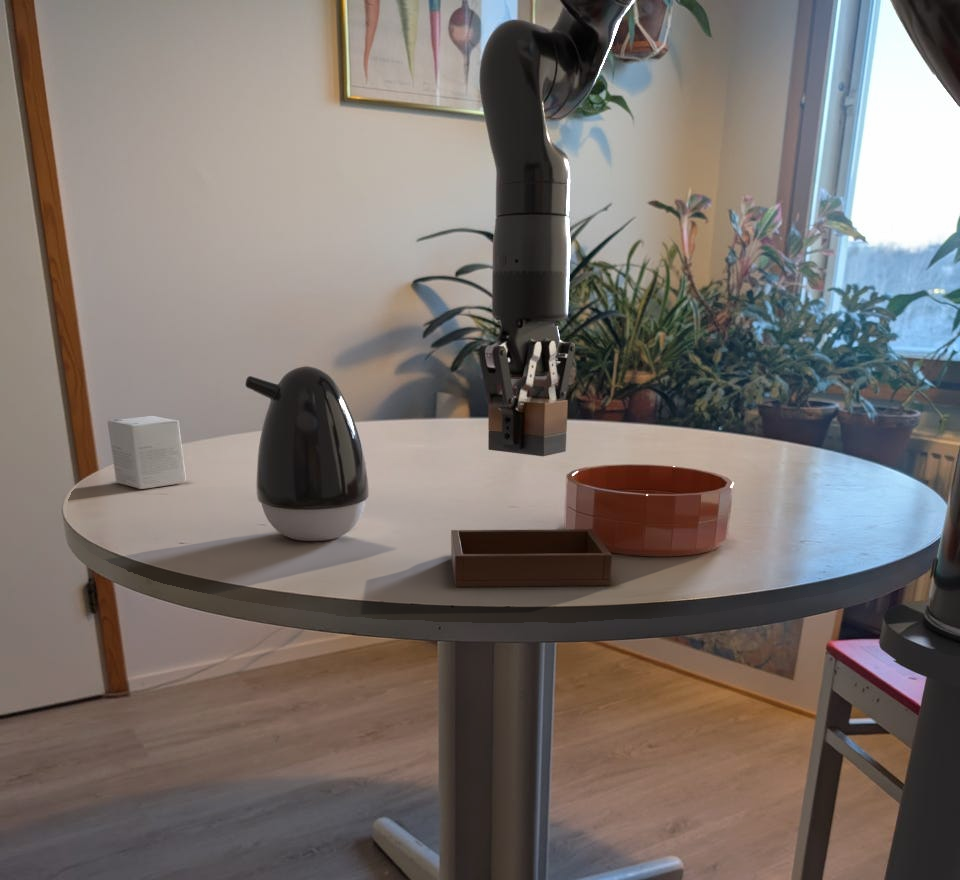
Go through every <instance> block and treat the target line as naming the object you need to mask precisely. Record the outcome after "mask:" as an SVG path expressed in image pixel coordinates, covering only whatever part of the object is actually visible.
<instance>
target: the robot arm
mask: <svg viewBox="0 0 960 880" xmlns="http://www.w3.org/2000/svg"><path fill="white" fill-rule="evenodd" d="M558 1H559V3H560V5H562V8H561V10H560V13H559V16H558V18H557V20H556V22H555V24H554V25H553V27H552V28H548V27H545V26H542V25H540V24H537V23H533V22H531V21H527V20H524V19H508V20H506V21H504V22H502V23H500V24H499V25H498V26H497V27H496V28H495V29H494V30H492V33H491V34H490V36H489V37H488V38H487V41H486V43H485V45H484V48H483V51H482V55H481V60H480V64H479V76H478V79H479V80H478V84H479V95H480V101H481V106H482V112H483V116H484V117H483V118H484V121H485V126H486V131H487V135H488V136H487V137H488V141H489V146H490V150H491V154H492V158H493V162H494V167H495V218H494V219H495V222H494V231H493V237H492V276H491V277H492V281H491V282H492V283H491V284H492V286H491V287H492V289H491V290H492V291H491V293H492V295H491V298H492V299H491V300H492V301H491V315H492V318H493V319H494V320H496V321H499V322H500V330H499V334H498V336H497V341H496V342H494V343H493V344H491V345H489V344H488V345H480V346H479V349H478V357H479V362H480V369H481V375H482V379H483V384H484V389H485V390H484V391H485V395H486V400H487V404H488V406H489V405H490V406H496V407H498V408H499V410H501V411H502V442H503V447H504V448H505V449H509V450H521V449H523V447H524V421H525V413H522V412H523V411H524V408H525V402H526V397H528V392H529V394H530V396H529V397H533V398H546V399H559V400H566V397H567V394H568V393H567V392H568V388H569V382H570V377H571V373H572V367H573V361H574V356H575V352H576V345H575V343H574V342H572V341H571V342H567V341H563V340H561V338H560V333H559V329H558V327H559V326H558V322H559V321H564V320H567V318H568V315H569V296H570V295H569V294H570V273H571V271H570V268H571V266H570V265H571V233H570V218H569V216H570V197H571V195H570V194H571V165H570V159H569V157H568V155H567V153H566V152H564V150H562V149H561V148H559V146H557V145H556V144H554V142H553V141H552V140H551V138H550V136H549V132H548V127H547V122H548V123H550V122H551V123H552V122H558V121H561V120H564V119H565V118H567V117H569V116H570V115H571V114H572V113H574V112H575V111H576V110H577V109H578V108H579V107H580V106H581V105H582V104H583V103H584V102H585V100H586V98H588V97H589V94H590V93H591V91H592V90H593V87H594V85H595V83H596V81H597V78H598V77H599V74H600V72H601V69H602V68H603V65H604V63H605V60H606V58H607V56H608V54H609V52H610V49H611V47H612V45H613V42H614V39H615V36H616V34H617V31H618V29H619V26H620V24H621V21H622V19H623V17H624V16H625V15H626V14H627V12H628V11H629V10H630V8H631V7H632V5H633V4H634V3H635V1H636V0H558ZM889 1H890V3H891V5H892V7H893V9H894V11H895V14H896V15H897V17H898V19H899V21H900V23H901V24H902V26H903V28H904V30H905V32H906V34H907V35H908V37H909V39H910V41H911V42H912V44H913V46H914V47H915V49H916V51H917V52H918V53H919V55H920V57H921V58H922V60H923V61H924V63H925V65H926V66H927V68H928V69H929V70H930V72H931V73H932V75H933V76H934V77H935V79H936V81H937V82H938V83H939V85H940V86H941V88H943V90H944V92H945V93H946V94H947V95H948V97H949V98H950V99H951V100H952V102H953V103H954V104H955V106H956V107H957V109H958V110H959V111H960V0H889ZM556 384H557V387H556ZM497 385H499V386H500V392H498V389H497ZM514 389H516V393H515V395H514ZM514 396H516V397H515V398H514ZM958 446H959V447H958V451H957V457H956V461H955V467H954V471H953V476H952V480H951V485H950V492H949V496H948V500H947V507H946V511H945V515H944V521H943V525H942V531H941V536H940V541H939V545H938V549H937V550H938V551H937V554H936V556H935V557H934V558H933V561H932V567H931V571H930V576H929V579H932V580H931V585H930V589H929V592H928V597H927V600H928V601H927V602H928V604H927V606H926V607H925V612H924V617H923V623H924V625H925V626H926V627H927V628H928V629H929V630H931V631H932V632H934V633H936V634H938V635H940V636H942V637H944V638H946V639H949V640H952V641H955V642H958V643H960V445H958Z"/></svg>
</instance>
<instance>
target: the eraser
mask: <svg viewBox="0 0 960 880" xmlns="http://www.w3.org/2000/svg"><path fill="white" fill-rule="evenodd" d="M515 397H516V395H514V398H515ZM568 402H569V400H568V399H564V400H559V399H546V398H533V397H531V396H527V397H526V402H525V408H524V411H523V412H522V413H525V421H524V447H523V449H521V450H509V449H505V448H504V447H503V442H502V411H501V410H499V408H498V407H496V406H490V405H489V404H488V419H487V420H488V422H487V423H488V433H487V434H488V439H487V440H488V442H487V444H488V447H487V448H488V449H487V450H488V451H495V452H502V453H510V454H517V455H518V454H519V455H527V456H535V457H548V456H551V455H556V454H561V453H565V452H567V431H568V409H569V408H568Z"/></svg>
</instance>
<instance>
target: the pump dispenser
mask: <svg viewBox="0 0 960 880" xmlns="http://www.w3.org/2000/svg"><path fill="white" fill-rule="evenodd" d="M244 383H245V385H244V386H245V387H246V388H247V389H248V390H252V391H253V392H255V393H257V394H259V395H261V396H263V397H265V398H268V399H269V400H270V402H269V404H268V408H267V410H266V413H265V416H264V421H263V424H262V429H261V433H260V439H259V444H258V452H257V463H256V482H255V483H256V485H255V486H256V499H257V501H258V502H259V503H260V504H261V507H262V511H263V513H264V515H265V517H266V519H267V521H268V523H269V524H270V525H271V526H272V527H273V528H274V529H275V530H276V531H277V532H278V533H280V534H281V535H283V536H285V537H286V538H290V539H292V540H295V541H300V542H323V541H331V540H335V539H338V538H341V537H343V536H345V535H346V534H348V533H349V532H351V531H352V530H353V529H354V528H355V527H356V526H357V525H358V523H359V521H360V520H361V517H362V516H363V512H364V510H365V505H366V501H367V499H368V498H369V497H370V496H369V495H370V488H369V487H370V486H369V478H368V471H367V464H366V459H365V454H364V449H363V447H362V446H363V445H362V441H361V437H360V435H359V431H358V427H357V426H356V423H355V421H354V418H353V415H352V413H351V411H350V408H349V405H348V403H347V401H346V399H345V396H344V395H343V392H342V391H341V388H339V386H338V385H337V383H336V382H335V380H334V379H333V378H332V377H331V376H330V375H329V374H328V373H327V372H325V371H324V370H322V369H320V368H317V367H314V366H307V365H303V366H299V367H296V368H293V369H291V370H289V371H288V372H286V373H285V374H284V375H283V376H282V377H281V379H280V381H279V382H278V383H274V382H271V381H267V380H264V379H261V378H258V377H255V376H253V375H249V376H247V377H246V380H245V382H244Z"/></svg>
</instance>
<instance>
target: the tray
mask: <svg viewBox="0 0 960 880" xmlns="http://www.w3.org/2000/svg"><path fill="white" fill-rule="evenodd" d="M450 531H451V532H450V560H451V567H452V573H453V582H454V587H455V588H480V587H481V588H482V587H483V588H485V587H486V588H487V587H497V588H498V587H574V586H575V587H577V586H578V587H580V586H581V587H584V586H587V587H589V586H593V587H595V586H596V587H597V586H611V576H612V575H611V574H612V560H613V559H612V558H613V554H612V552H609V551H608V549H607V548H606V547H605V545H604V544H603V543H602V542H601V540H600V539H599V538H598V536H597V535H596V534H595V532H594V531H593V530H592V529H586V530H585V529H565V528H564V529H451V530H450Z"/></svg>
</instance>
